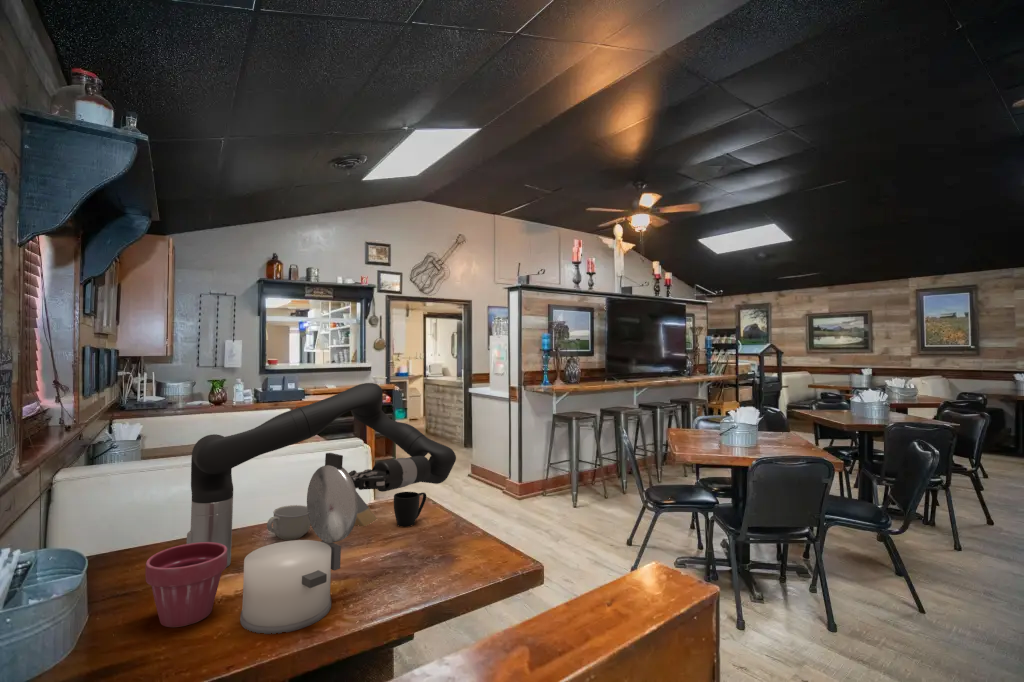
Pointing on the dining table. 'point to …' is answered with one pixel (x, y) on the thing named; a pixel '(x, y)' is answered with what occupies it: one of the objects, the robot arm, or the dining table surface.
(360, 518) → the sandwich container
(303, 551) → the oval food canister
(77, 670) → the dining table surface
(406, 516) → the mug
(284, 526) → the teacup
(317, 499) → the lid
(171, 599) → the plant pot
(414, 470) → the robot arm
